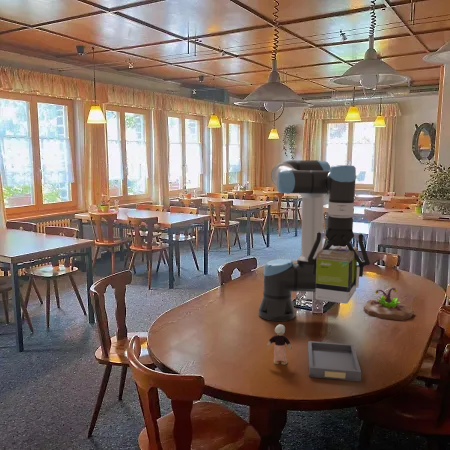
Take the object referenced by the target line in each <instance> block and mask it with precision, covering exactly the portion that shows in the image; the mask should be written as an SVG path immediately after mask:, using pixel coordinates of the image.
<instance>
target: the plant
mask: <svg viewBox="0 0 450 450" xmlns="http://www.w3.org/2000/svg"><path fill="white" fill-rule="evenodd" d="M392 290H393V292H394V293H397V292H398V289H397V288H395V287H391V288H390V289H389V290H388V293H386V292H385V290H382V289H377V290H375V294H379V292H381V293H382V294H383V295H382V296H379V298H375V299H370V300H368V301H366V304H365V305H364V306H363V312H364V313H365V314H367V316H371V317H377V318H378V319H386V320H394V321H404V320H408V319H411V318H412V317H413V315H414V310H413V309H412V307H411V305H408V304H405V303H403V302H401V301H398V297H393V298H391V292H392Z"/></svg>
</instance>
